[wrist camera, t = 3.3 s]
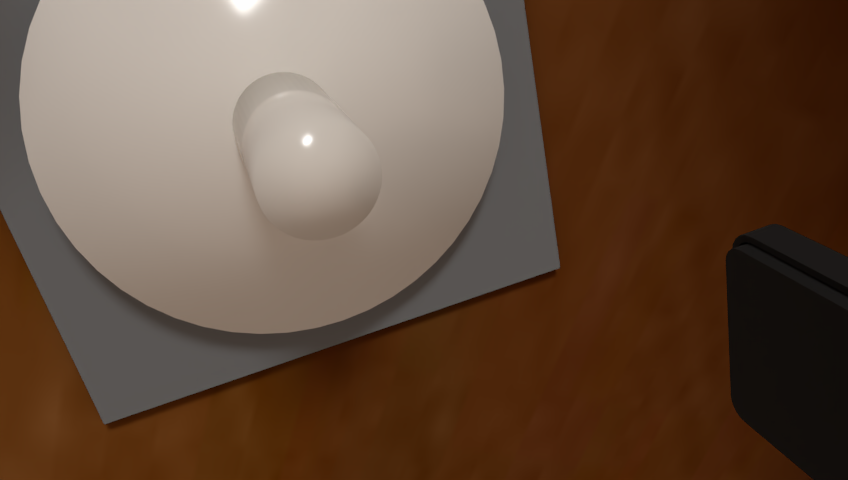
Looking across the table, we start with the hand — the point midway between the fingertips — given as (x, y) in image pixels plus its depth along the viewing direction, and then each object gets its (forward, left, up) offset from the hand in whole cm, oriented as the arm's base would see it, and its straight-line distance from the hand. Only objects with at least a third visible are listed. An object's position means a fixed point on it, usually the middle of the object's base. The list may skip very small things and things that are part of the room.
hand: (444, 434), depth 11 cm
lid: (0, 0, -17) cm, 17 cm away
